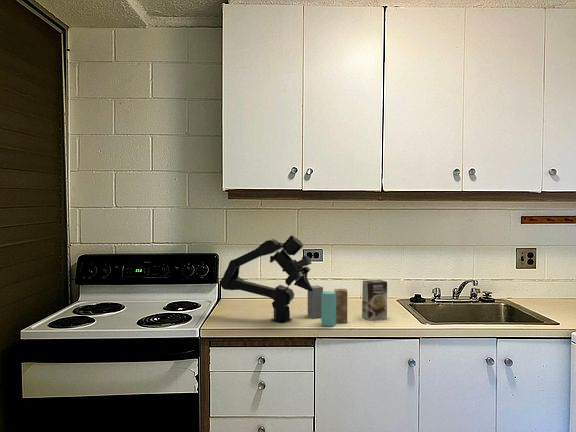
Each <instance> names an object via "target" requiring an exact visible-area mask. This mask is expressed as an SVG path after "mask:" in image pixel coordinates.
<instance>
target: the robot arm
mask: <svg viewBox="0 0 576 432" xmlns="http://www.w3.org/2000/svg"><path fill="white" fill-rule="evenodd" d="M303 247H304V244H303V242H302V241H301V240H300V239H298V237H295V236H294V235H290V236H289V237H288V238H287V240H286V241H284V242H279V241H278V240H276V239H275V238H273V239H267V240H265V241H264V242H262V243H261V244H260V245H258V247H256V248H255V249H254V250H251V251H249V252H247V253H245V254H243V255H241V256H238V257H237V258H235V259H231V260H230V261H229V263H228V266H227V268H226V270H225V271H224V273H223V276H222V277H221V279H220V282H219V283H220V286H221V288H222V289H223V290H227V291H243V292H245V293H246V292H247V293H251V294H255V295H259V296H261V297H266V298H269V299H271V300H273V301H272V302H271V306H272V308H273V318H272V319H270V321H271V322H276V323H280V324H285V323H287V322H290V321H291V322H292V320H293V319H292V318H291V310H290V306H289V305H290V303H291V302H292V301H293V300H294V298H295V292H294V290H293V289H291V288H290V286H292V283H293V282H294V283H293V285H294V286H295V287H299V288H301V289H304V290H306V291H307V292H308V291H310V292H311V291H312V290H313V289H312V287H311V286H312V285H311V283H310V281H309V279H308V275H309V272H310V271H311V269H310V267H309V265H311V264H312V261H311V258H310V256H307V255H304V256H301V259H300V260H297V259H292V257H291V256H296V254H298V253H299V251H300V250H301V249H303ZM271 254H273V255H271ZM266 255H270V256H269V263H271V264H272V263H276V264H278V265H279V267H280V268H281V269H282V270H281V271H282V272H283V273H284V272H285V273H286V275H288V276H287V278H285V279H284V281H285V282H284V283H285V284H286V285H287V286H285V285H282V284H278V285H277V286H276V287H272V286H267V285H264V284H259V283H255V282H251V281H247V280H244V279H243V278H241V277H240V275H239V274H240V268H241V266H243V265H245V264H247V263H250V262H252V261H254V260H255V259H258V258H260V257H262V256H263V257H264V256H266Z"/></svg>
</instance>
